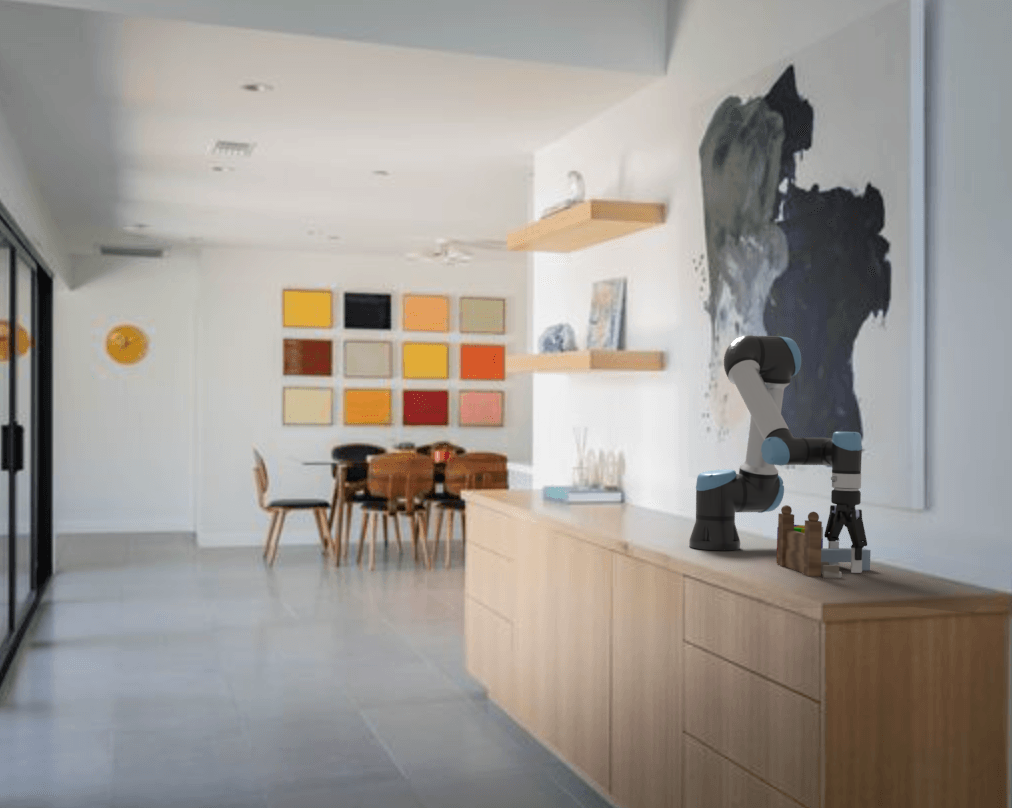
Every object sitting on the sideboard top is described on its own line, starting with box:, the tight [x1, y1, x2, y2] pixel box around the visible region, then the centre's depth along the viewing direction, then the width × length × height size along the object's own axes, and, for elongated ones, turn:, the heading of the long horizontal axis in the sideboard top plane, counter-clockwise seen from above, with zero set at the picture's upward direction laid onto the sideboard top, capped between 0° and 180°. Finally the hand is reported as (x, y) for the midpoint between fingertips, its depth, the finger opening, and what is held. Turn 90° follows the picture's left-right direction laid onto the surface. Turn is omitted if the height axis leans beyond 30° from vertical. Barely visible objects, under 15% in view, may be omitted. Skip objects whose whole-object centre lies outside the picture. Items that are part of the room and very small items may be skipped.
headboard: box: [776, 505, 843, 579], centre depth 307 cm, size 22×8×16 cm, turn 10°
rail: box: [821, 547, 871, 571], centre depth 312 cm, size 4×16×5 cm, turn 99°
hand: (844, 568), depth 312 cm, fingers open, 13 cm apart
